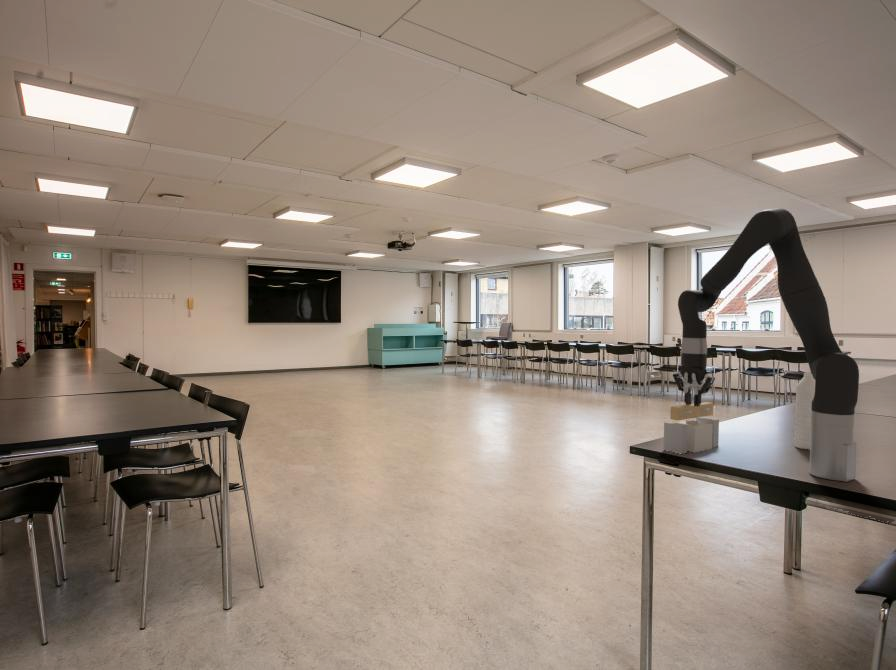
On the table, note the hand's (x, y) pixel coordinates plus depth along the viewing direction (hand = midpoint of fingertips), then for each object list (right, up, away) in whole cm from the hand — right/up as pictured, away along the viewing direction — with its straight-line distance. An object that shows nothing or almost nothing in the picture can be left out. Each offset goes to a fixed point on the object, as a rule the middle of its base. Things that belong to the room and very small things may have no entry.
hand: (692, 405), depth 165 cm
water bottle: (+40, -15, +4) cm, 43 cm away
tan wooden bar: (0, -4, 0) cm, 4 cm away
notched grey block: (0, -14, 0) cm, 14 cm away
